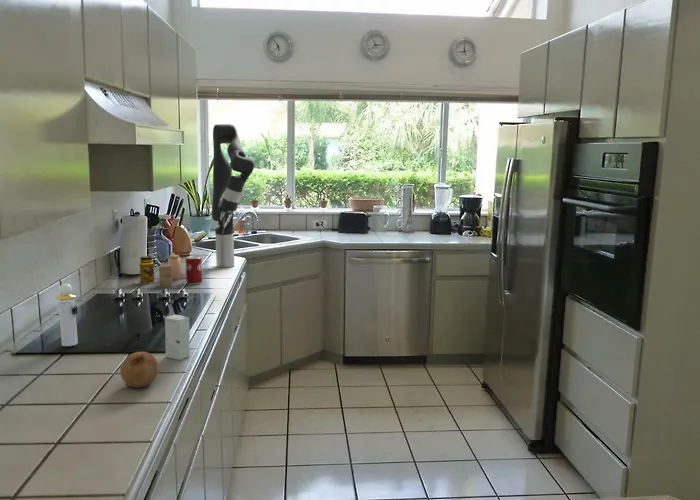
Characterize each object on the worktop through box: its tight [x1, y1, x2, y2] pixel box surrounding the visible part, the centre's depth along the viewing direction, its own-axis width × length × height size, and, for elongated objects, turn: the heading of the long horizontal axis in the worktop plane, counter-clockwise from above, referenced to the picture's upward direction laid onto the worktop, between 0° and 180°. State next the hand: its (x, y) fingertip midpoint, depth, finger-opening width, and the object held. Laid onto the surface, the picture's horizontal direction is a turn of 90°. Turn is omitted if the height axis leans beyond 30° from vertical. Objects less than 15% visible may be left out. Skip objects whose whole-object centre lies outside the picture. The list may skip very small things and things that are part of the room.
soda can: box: [185, 255, 204, 285], centre depth 277 cm, size 7×7×12 cm
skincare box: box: [164, 314, 191, 361], centre depth 178 cm, size 6×4×12 cm
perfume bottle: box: [55, 282, 79, 347], centre depth 187 cm, size 6×6×20 cm
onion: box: [119, 351, 159, 389], centre depth 157 cm, size 10×9×10 cm
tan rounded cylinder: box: [167, 254, 182, 281], centre depth 286 cm, size 6×6×11 cm
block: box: [158, 264, 174, 288], centre depth 272 cm, size 5×5×9 cm
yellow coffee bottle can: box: [135, 255, 158, 285], centre depth 279 cm, size 7×8×12 cm
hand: (220, 233), depth 279 cm, fingers closed
